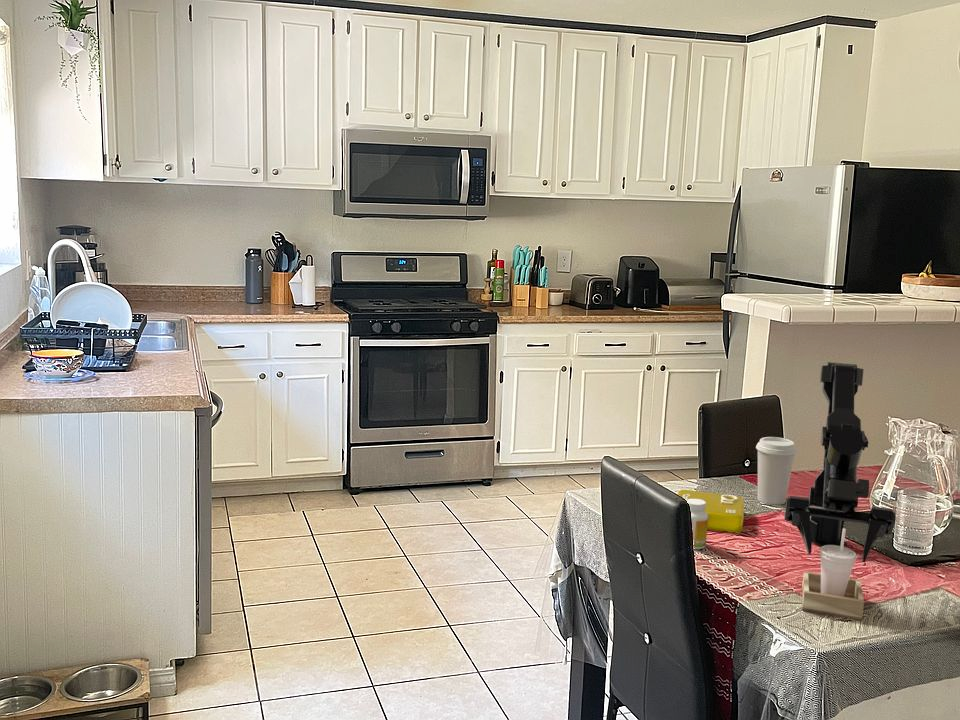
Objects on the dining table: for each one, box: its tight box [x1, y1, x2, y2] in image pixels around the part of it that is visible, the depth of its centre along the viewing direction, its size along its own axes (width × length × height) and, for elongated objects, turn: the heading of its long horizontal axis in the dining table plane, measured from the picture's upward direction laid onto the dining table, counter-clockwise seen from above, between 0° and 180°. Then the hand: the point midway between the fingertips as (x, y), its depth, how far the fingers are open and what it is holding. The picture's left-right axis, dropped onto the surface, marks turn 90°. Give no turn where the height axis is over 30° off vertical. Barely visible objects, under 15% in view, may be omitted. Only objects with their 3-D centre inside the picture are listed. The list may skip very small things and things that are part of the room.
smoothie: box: [818, 527, 858, 597], centre depth 169 cm, size 6×6×14 cm
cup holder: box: [801, 570, 865, 621], centre depth 170 cm, size 10×10×4 cm
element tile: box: [677, 489, 745, 533], centre depth 212 cm, size 15×15×5 cm
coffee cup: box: [755, 436, 798, 506], centre depth 225 cm, size 10×10×15 cm
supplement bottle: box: [687, 499, 708, 550], centre depth 195 cm, size 5×5×10 cm
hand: (836, 557), depth 167 cm, fingers open, 9 cm apart
